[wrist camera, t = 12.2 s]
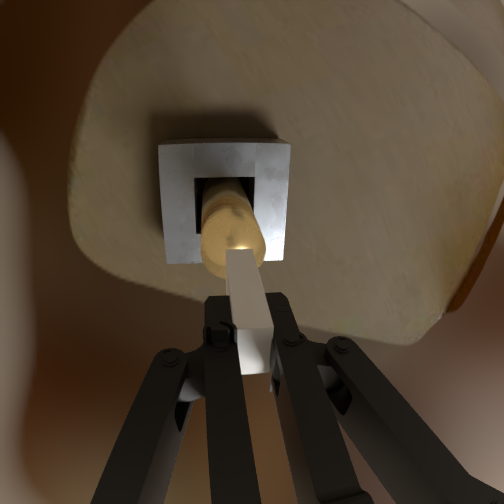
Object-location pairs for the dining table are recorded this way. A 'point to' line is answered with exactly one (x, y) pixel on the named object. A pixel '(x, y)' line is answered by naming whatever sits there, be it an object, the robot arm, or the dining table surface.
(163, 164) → the block
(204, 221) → the brass cylinder rod
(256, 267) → the robot arm
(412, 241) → the dining table surface
